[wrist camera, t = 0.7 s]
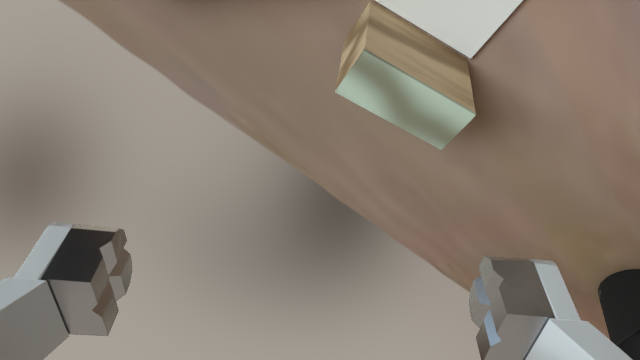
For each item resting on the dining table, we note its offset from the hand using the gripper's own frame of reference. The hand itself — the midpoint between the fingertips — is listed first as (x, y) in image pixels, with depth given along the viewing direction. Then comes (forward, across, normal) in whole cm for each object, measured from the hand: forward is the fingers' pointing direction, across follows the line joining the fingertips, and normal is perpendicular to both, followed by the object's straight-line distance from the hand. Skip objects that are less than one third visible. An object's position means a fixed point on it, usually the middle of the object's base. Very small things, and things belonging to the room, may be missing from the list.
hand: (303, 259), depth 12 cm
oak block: (+43, -9, +14) cm, 46 cm away
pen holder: (+43, -48, +47) cm, 80 cm away
